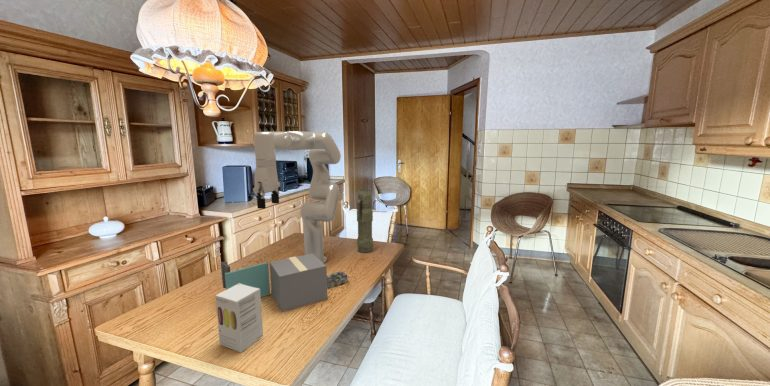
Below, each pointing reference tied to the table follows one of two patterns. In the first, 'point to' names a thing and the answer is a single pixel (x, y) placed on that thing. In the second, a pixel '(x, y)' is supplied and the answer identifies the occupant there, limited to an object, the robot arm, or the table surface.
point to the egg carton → (336, 279)
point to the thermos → (364, 221)
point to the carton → (298, 281)
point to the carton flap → (247, 277)
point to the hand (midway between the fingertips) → (268, 205)
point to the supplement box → (239, 317)
